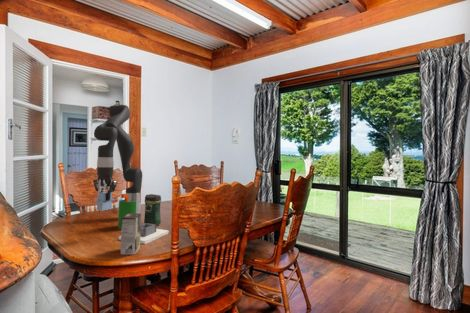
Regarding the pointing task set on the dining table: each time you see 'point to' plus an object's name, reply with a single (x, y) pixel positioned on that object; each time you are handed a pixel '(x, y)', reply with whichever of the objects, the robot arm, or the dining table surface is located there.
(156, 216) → the coffee jar
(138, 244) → the coffee box
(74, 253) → the dining table surface
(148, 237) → the board
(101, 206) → the block
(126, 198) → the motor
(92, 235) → the dining table surface
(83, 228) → the dining table surface
